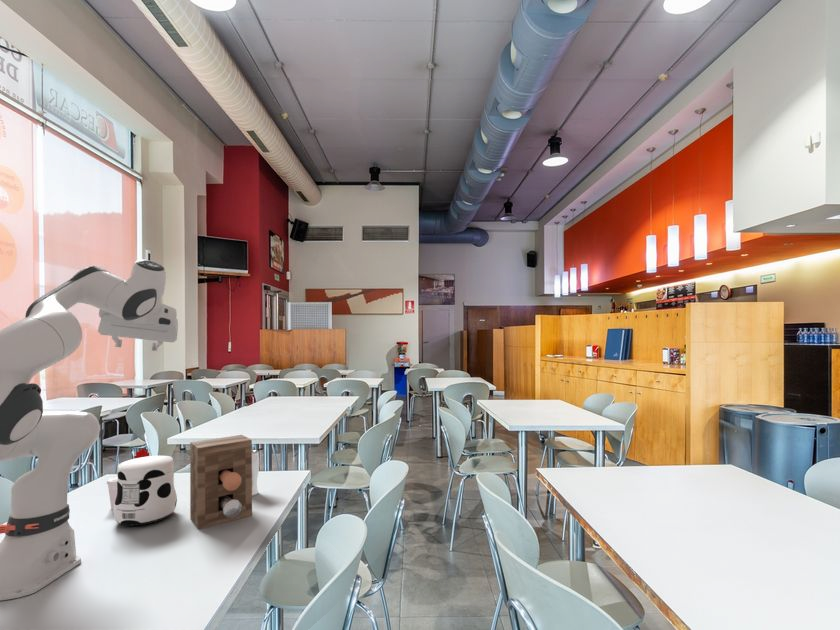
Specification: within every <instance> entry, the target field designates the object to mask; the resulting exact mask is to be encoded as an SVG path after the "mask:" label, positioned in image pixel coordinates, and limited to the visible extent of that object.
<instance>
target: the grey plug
mask: <svg viewBox="0 0 840 630" xmlns="http://www.w3.org/2000/svg"><path fill="white" fill-rule="evenodd" d="M218 503H219V506H220V507H221V508H222V509H223V514H224V515H225V516H226V517H228V518H234V517H236V516H237V515H238V514H239V513H240V511H241V508H242V505H241V503H240V502H239V501H238V500H237V499H231V498H230V497H229V496H228V495H225V496H222V497H221V498H220V499H219V502H218Z"/></svg>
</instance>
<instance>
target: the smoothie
mask: <svg viewBox="0 0 840 630" xmlns="http://www.w3.org/2000/svg"><path fill="white" fill-rule="evenodd" d="M118 466H119V464H118V465H117V467H118ZM117 478H118V475H117V476H113V477H110V478H108V479H107V480H106V484H107V487H108V494H109V495H108V496H109V502H110V509H111V510H113V509H114V503H115V500H116V496H117Z"/></svg>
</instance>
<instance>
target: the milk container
mask: <svg viewBox="0 0 840 630" xmlns="http://www.w3.org/2000/svg"><path fill="white" fill-rule="evenodd" d="M118 465H119V466H118ZM118 465H117V476H118V478H117V496H116V500H115V503H114V509H112V510H113V516H114V517H113V518H114V520H115V521H116V523H117V524H120V525H122V526H126V527H127V526H128V527H129V526H130V527H131V526H132V527H133V526H143V525H149V524H151V523H152V524H153V523H156V522H159V521H161V520H164V519H166V518H167V517H169V516H171V515H172V514H173V513H174V512H175V510H176V508H177V502H178V495H177V492H176V488H175V484H174V483H175V481H174V480H175V478H174V476H175V475H174V474H175V472H174V470H175V469H174V468H175V463H174V457H173V456H169V455H149V456H148V457H141V458H136V459H134V458H132V459H128V460H125V461H123V462H120V463H119V464H118Z"/></svg>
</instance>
